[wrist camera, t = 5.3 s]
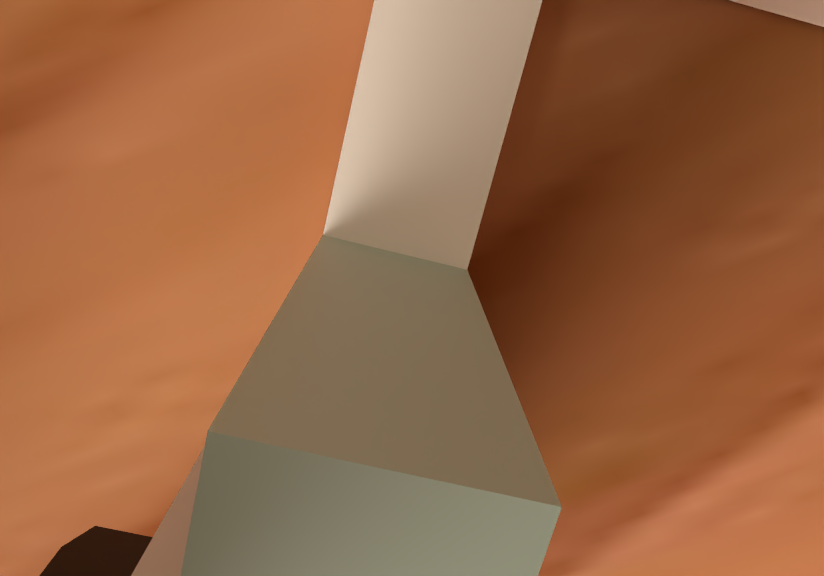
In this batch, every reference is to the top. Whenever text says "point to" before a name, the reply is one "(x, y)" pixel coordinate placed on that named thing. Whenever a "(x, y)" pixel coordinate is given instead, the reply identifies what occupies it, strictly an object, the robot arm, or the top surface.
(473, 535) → the light grey frame
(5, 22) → the top surface
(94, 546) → the robot arm
